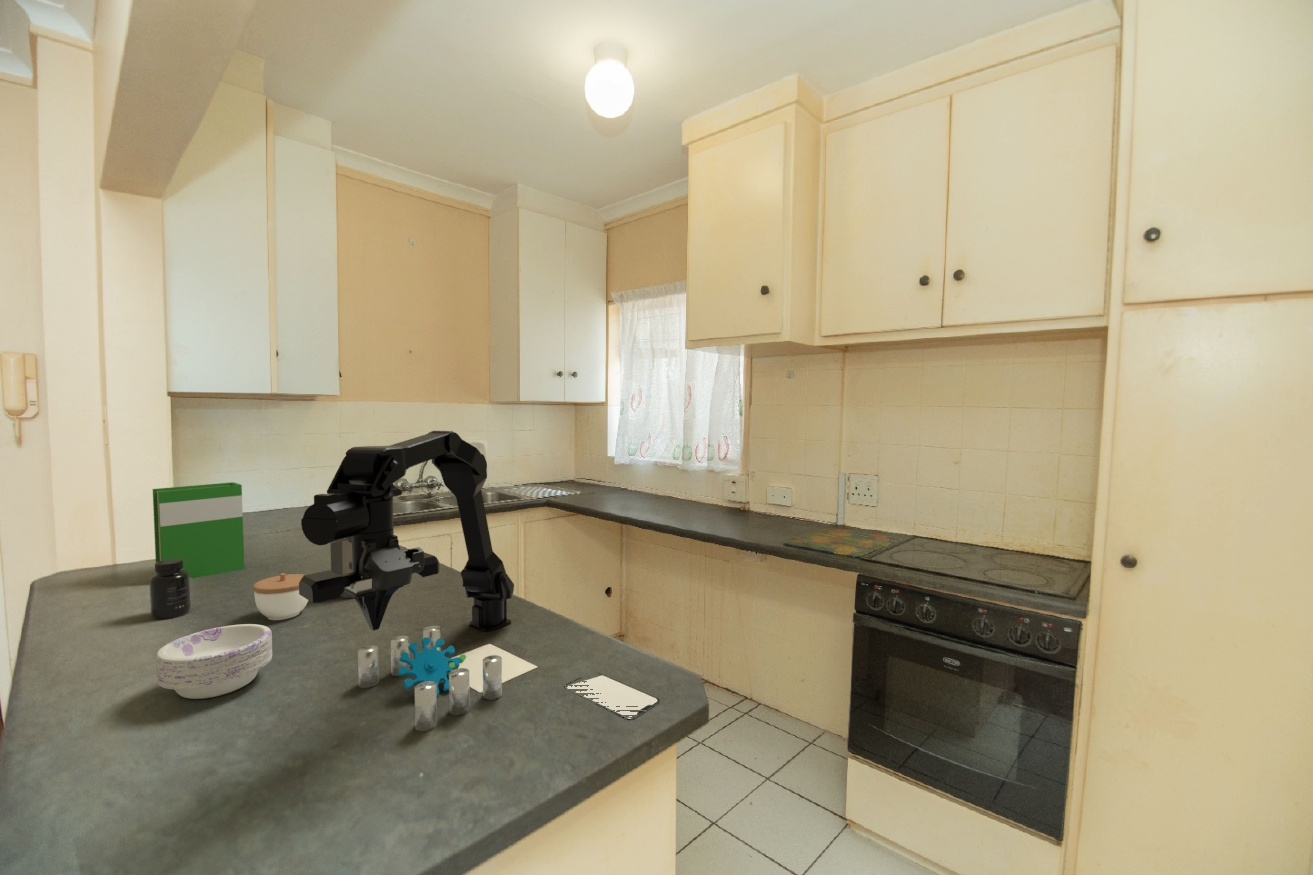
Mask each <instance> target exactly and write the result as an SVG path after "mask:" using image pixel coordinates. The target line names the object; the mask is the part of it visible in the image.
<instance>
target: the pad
mask: <svg viewBox="0 0 1313 875" xmlns="http://www.w3.org/2000/svg"><path fill="white" fill-rule="evenodd" d="M462 654H464V655H465V656H466V659H465V660H464V661H463V663H460V664H459V668H466V669H468V670H469V688H470V689H472V690H474V691H475V692H478V693H479V694H481V693H482V694H483V659H484V658H485V657H487V656H491V655H498V656H501V657H502V684H504V683H506V682H508V681H510V680H513V679H515V678H517V677H519V676H522V675H523V674H526V673H528V672H530V671H531V672H532V670H535V669H538V666H537V665H535V664H534V663H531V662H528V660H527V661H526V660H525V659H523V658H520V657H518V656H516V655H514V654H513V653H510V652H508V651H506V650H504V649H502V648H500V647H498V646H495V645H493V644H491V643H488V644H485V645H482V646H480V647H477V648H475V649H471V650H470V651H466V652H464V653H461V654H458V655H456V656H453V657H452V658H456V657H460V656H461V655H462Z"/></svg>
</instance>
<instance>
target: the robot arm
mask: <svg viewBox="0 0 1313 875" xmlns="http://www.w3.org/2000/svg"><path fill="white" fill-rule="evenodd" d="M428 461H431V464H433V466H434V467H435V469H437V470H438V471H439V473H440V475H441V478H442V480H443V484H444V486H445V487H446V488H447V489H448V491H450V492H451V493H452V494H453V495H454V496H455V499H456V504H457V509H458V513H459V519H460V523H461V524H460V525H461V527H462V533H463V538H464V542H465V543H464V544H465V548H466V553H467V558H468V559H467V561H466V563H465V566H464V567H463V569H461V571H460V577H461V578H462V587H463V588H464V590H465V593H466V598H467V599H470V598H471V599H472V598H473V605H472V607H471V621H469V625H471V626H473V627H475V628H477V629H479V630H481V631H483V632H489V631H492V630H496V629H498V628H501V627H504V626H506V625H509V624H512V620H511V619H508V616H507V615H508V611H507V610H508V600H509V599H510V600H511V599H512V597H513V596H512V595H513V594H514V591H515V584H514V582H513V580H512V578H510V576H509V575H508V573H507V571H506V568H505V565H504V562H503V560H502V559H501V558H500V557H499V556H498V555H497V554H496V553H495V552H494V549H493V546H492V541H491V534H490V529H489V523H488V519H487V514H486V509H485V503H484V498H483V491H482V490H483V487H484V485H485V483H486V481H487V478H488V472H487V469H488V463H487V460H486V457H485V455H484V454H483V453H481V452H480V450H479V448H478V447H476V446H474V445H472V444H471V443H469V442H467V441H465V440H463V438H462V437H461V436H460V435H459V434H458V433H457V432H455V431H453V430H431V431H429V432H428V433H425V434H423V435H420V436H416V437H413V438H409V439H406V440H404V441H400V442H395V443H393V444H390V445H367V446H366V445H365V446H364V445H363V446H352V447H351V448H349V449H347V451H346V452H345V456H344V457H343V459H342V460H341V463H340V465H339V467H338V469H337V471H336V473H335V475H334V477H333V478H332V480H331V481H330V484H329V486H328V488H327V490H326V493H319V494H315V495H313V504H311V505H309V506H308V507H307V508H306V510H305V511H304V514H303V516H302V518H301V522H300V523H301V524H300V525H301V530H302V532H303V535H304V536H305V538H306V539H307V540H308V542H310V543H312V544H313V545H317V546H325V545H329V544H330V543H333V542H336V541H339V540H342V539H346V538H348V542H349V543H352V562H349V569H351V570H352V573H347V574H342V575H338V574H336V573H334V572H332V571H331V569H327V570H324V571H323V570H322V571H319V572H318V571H317V572H314V573H313V572H312V573H309V574H308V573H307V574H304V576H303V577H302V579H301V580H300V582H299V595H301V596H303V597H304V598H306V599H308V600H309V601H308V602H311V603H312V604H316V603H318V604H319V603H323V602H327V601H330V600H335V599H339V598H341V597H340V596H341V594H342V593H343V592H346V593H348V594H350V595H351V596H353V597H354V598H353V599H354V600H355V602H356V603H357V605H358V606H359V608H360V610H361V611H360V612H362V614H363V616H364V618H365V620H366V623H367V624H368V626H369V629H370V630H371V631H373V632H375V631H378V630H379V629H380V628H381V625H382V622H383V618H384V616H385V613H386V610H387V608H388V605H389V603H390V601H391V599H392V597H393V594H395V592H397V590H399V589H400V588H404V587H405V586H407V585H410V584H411V582H412V578H413V574H417V575H418V576H419V577H421V578H427V577H430V576H435V575H438V574H439V573H440V561H439V559H438V557H437V556H436V555H434V554H433V555H432V554H429V553H427V552H425V551H424V549H422V548H421V547H420V546H419V547H413V548H408V549H403V550H401V547H400V544H399V542H400V541H399V538H398V535H395V534H394V498H395V497H399V496H402V494H403V491H402V490H401V489H400V488H398V487H397V486H396V485H395V484H396V482H398V481H399V480H400V479H402V478H403V477H405V476H406V474H407V471H408V470H409V469H410V468H412V467H415V466H418V465H419V464H422V463H425V462H428ZM349 483H350V484H349ZM394 483H395V484H394Z"/></svg>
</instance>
